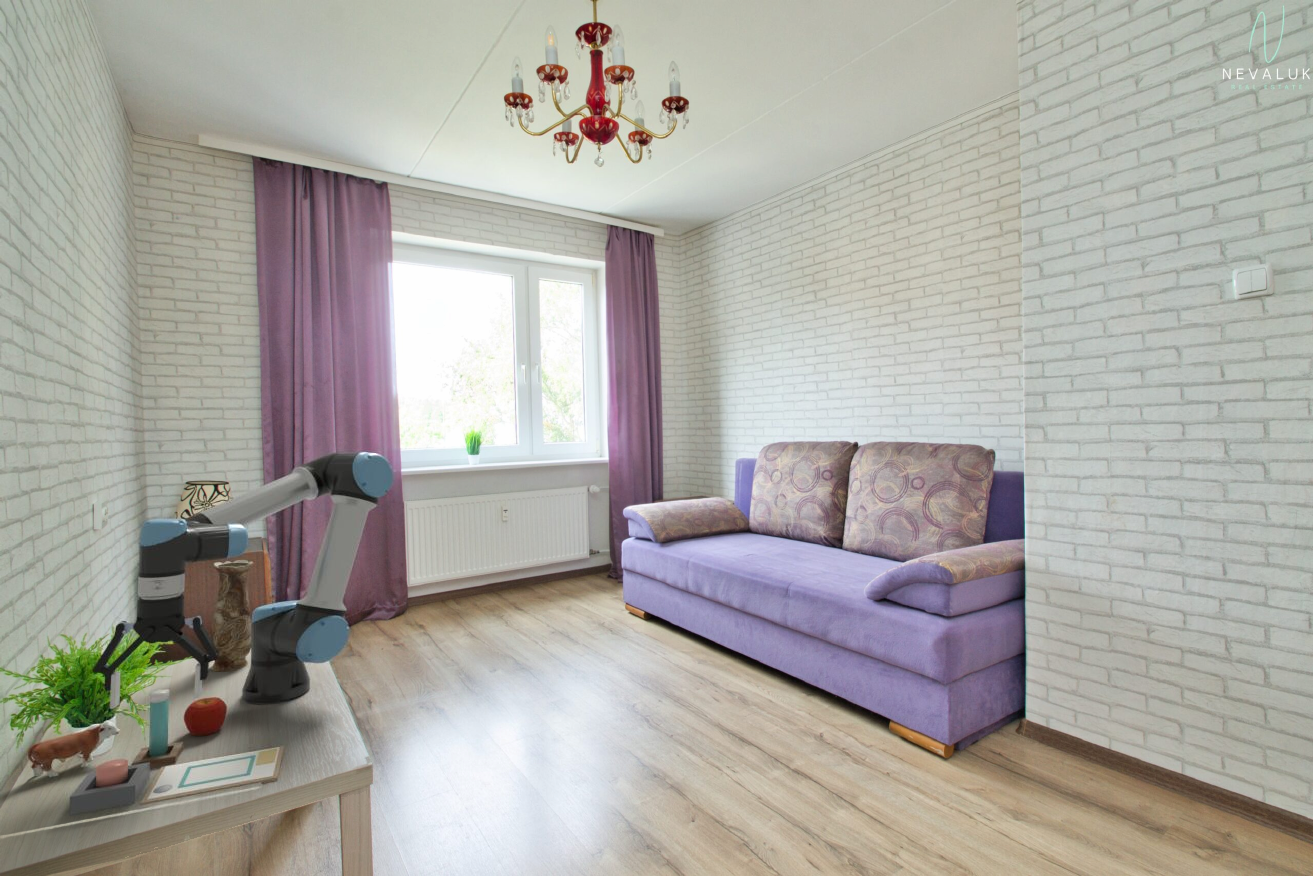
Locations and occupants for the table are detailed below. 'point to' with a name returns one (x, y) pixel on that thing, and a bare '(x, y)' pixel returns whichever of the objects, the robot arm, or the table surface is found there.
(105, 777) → the button
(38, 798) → the table surface
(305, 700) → the table surface
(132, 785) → the button housing
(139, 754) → the marker holder
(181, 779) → the colouring sheet
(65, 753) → the bull figurine
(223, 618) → the vase
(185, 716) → the apple
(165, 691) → the marker
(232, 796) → the table surface
